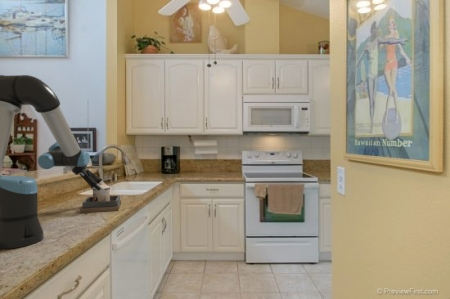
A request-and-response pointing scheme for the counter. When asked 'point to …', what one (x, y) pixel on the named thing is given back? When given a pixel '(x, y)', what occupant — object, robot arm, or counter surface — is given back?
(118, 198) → the collar stand
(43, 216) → the counter surface
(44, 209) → the counter surface
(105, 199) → the teacup with lid
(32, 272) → the counter surface
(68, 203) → the counter surface
